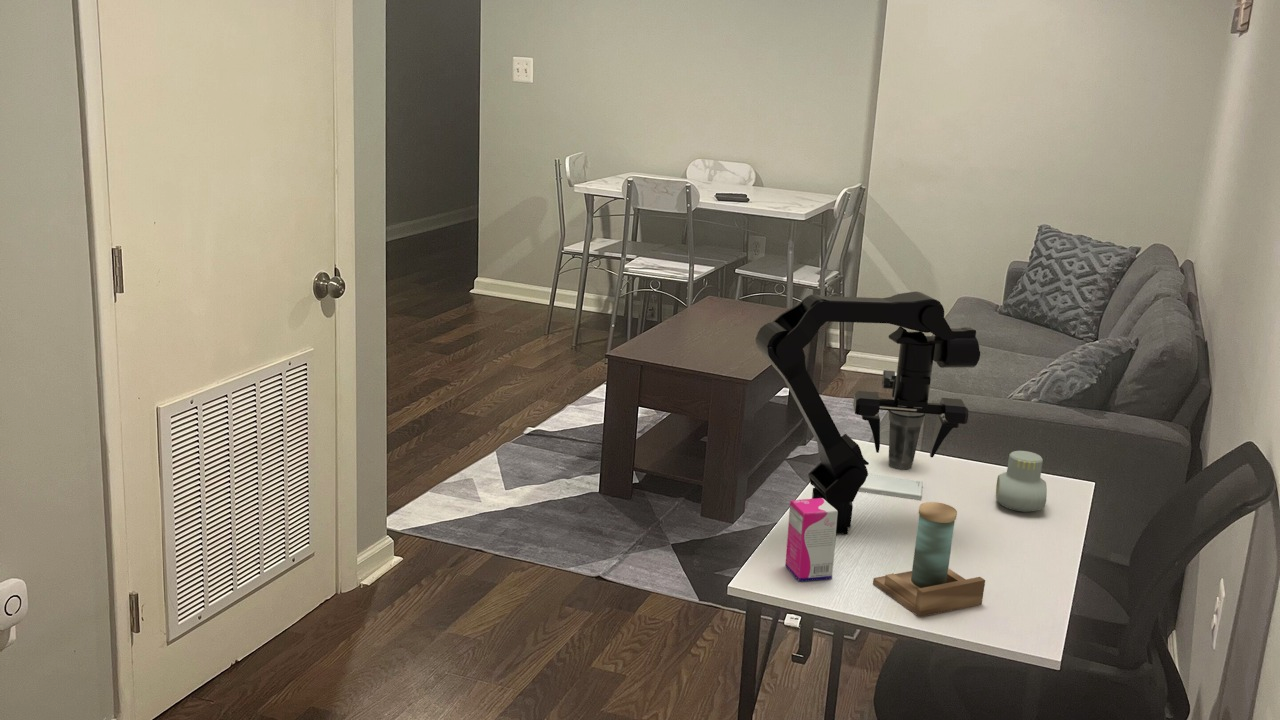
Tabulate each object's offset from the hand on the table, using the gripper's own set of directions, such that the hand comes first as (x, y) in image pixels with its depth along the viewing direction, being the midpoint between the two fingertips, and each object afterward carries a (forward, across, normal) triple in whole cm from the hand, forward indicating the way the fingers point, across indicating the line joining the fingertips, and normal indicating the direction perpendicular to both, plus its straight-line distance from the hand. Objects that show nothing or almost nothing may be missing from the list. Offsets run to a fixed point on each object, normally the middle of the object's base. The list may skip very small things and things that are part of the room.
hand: (904, 454), depth 191 cm
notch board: (+13, -2, +26) cm, 30 cm away
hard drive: (+14, 0, -17) cm, 22 cm away
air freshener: (+13, -24, -14) cm, 31 cm away
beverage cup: (+13, -4, -30) cm, 33 cm away
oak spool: (+12, -2, +26) cm, 29 cm away
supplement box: (+13, +16, +23) cm, 31 cm away
